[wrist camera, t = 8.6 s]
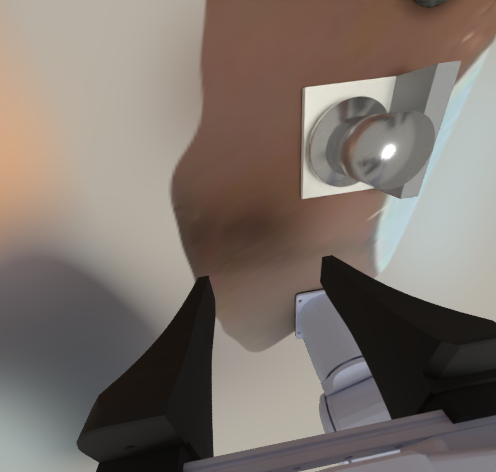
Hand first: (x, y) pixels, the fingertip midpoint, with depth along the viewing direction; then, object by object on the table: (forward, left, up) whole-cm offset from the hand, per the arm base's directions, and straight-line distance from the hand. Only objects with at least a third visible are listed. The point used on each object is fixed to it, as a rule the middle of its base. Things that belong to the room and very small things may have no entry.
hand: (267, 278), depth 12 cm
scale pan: (+6, -9, -8) cm, 14 cm away
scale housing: (+6, -10, -9) cm, 15 cm away
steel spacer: (+6, -9, -7) cm, 13 cm away
